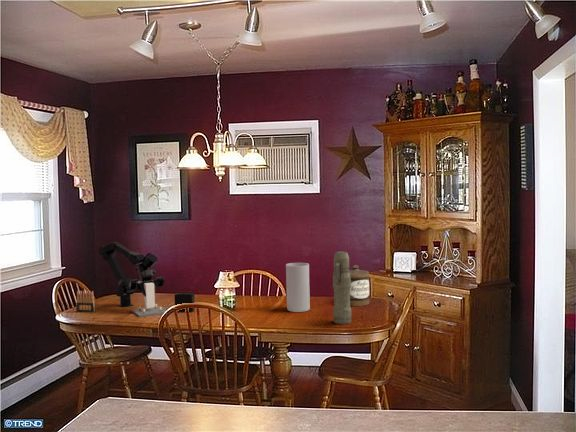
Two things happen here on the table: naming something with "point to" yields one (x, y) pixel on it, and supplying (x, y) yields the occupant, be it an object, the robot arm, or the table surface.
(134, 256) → the robot arm
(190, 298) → the electronic device
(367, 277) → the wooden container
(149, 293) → the cream block
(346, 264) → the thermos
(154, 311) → the mount plate
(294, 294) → the cylinder vase
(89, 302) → the ammunition clip
